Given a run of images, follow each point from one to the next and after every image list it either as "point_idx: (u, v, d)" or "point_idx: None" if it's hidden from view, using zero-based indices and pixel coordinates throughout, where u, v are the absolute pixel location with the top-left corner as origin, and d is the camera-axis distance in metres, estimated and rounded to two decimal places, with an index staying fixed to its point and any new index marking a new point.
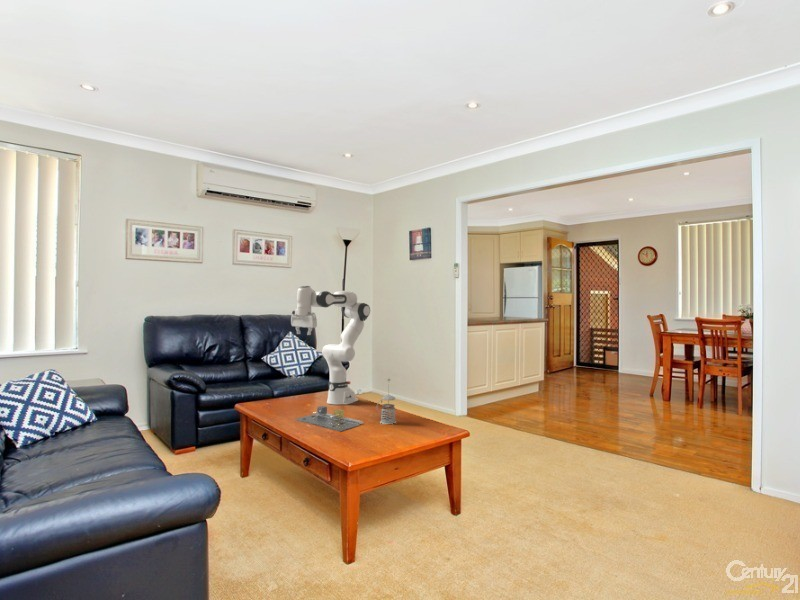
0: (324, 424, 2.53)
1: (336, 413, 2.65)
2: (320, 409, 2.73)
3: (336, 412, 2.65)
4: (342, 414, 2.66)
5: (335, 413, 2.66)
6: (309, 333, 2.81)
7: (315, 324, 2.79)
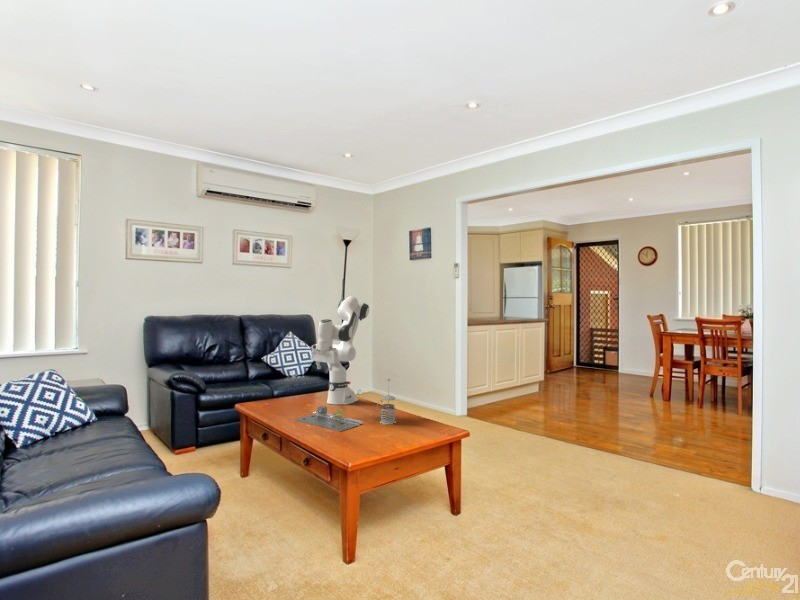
0: (324, 424, 2.53)
1: (336, 413, 2.65)
2: (320, 409, 2.73)
3: (336, 412, 2.65)
4: (342, 414, 2.66)
5: (335, 413, 2.66)
6: (330, 369, 2.72)
7: (337, 360, 2.70)
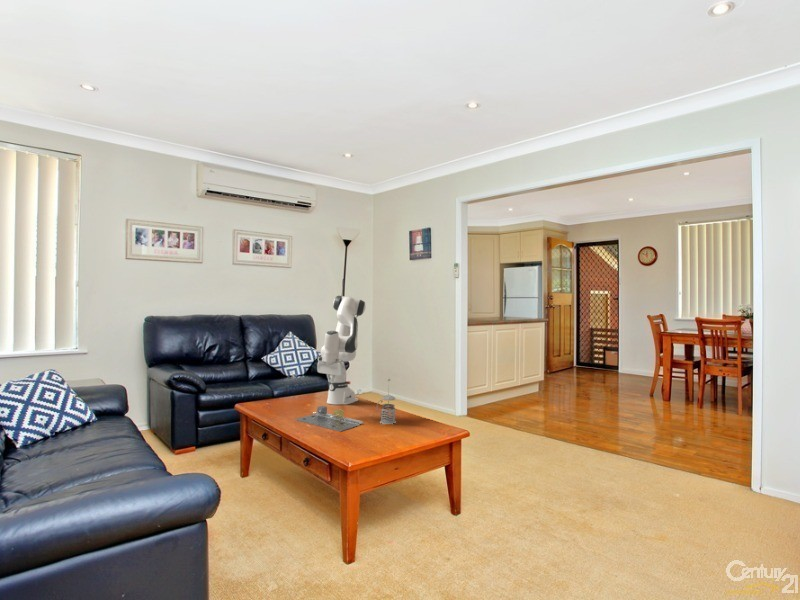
0: (324, 424, 2.53)
1: (336, 413, 2.65)
2: (320, 409, 2.73)
3: (336, 412, 2.65)
4: (342, 414, 2.66)
5: (335, 413, 2.66)
6: (332, 380, 2.72)
7: (343, 372, 2.67)
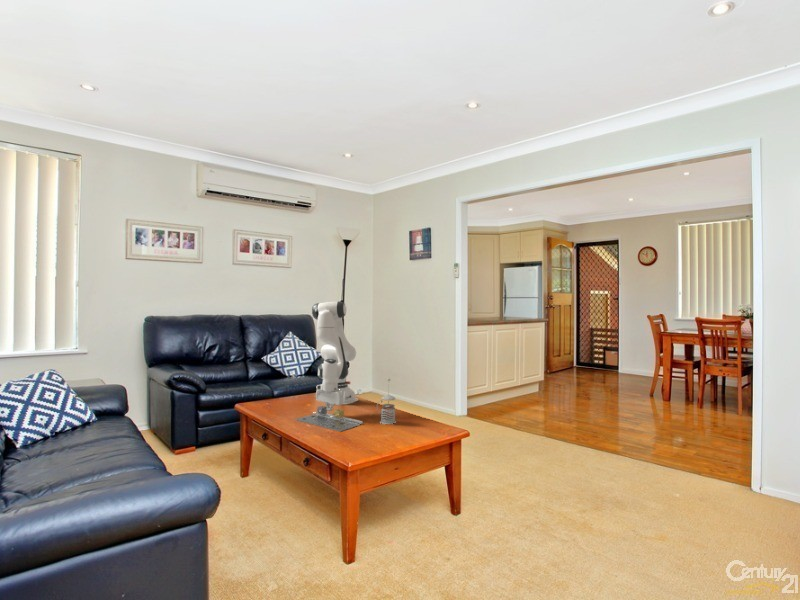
0: (324, 424, 2.53)
1: (336, 413, 2.65)
2: (320, 409, 2.73)
3: (336, 412, 2.65)
4: (342, 414, 2.66)
5: (335, 413, 2.66)
6: (331, 409, 2.70)
7: (342, 401, 2.65)
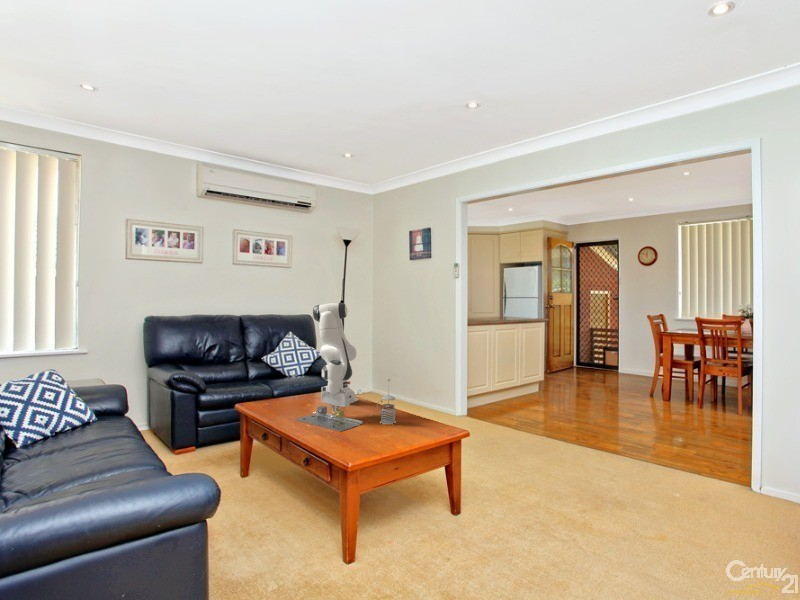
0: (324, 424, 2.53)
1: (336, 413, 2.65)
2: (320, 409, 2.73)
3: (336, 412, 2.65)
4: (342, 414, 2.66)
5: (335, 413, 2.65)
6: None
7: (348, 403, 2.63)
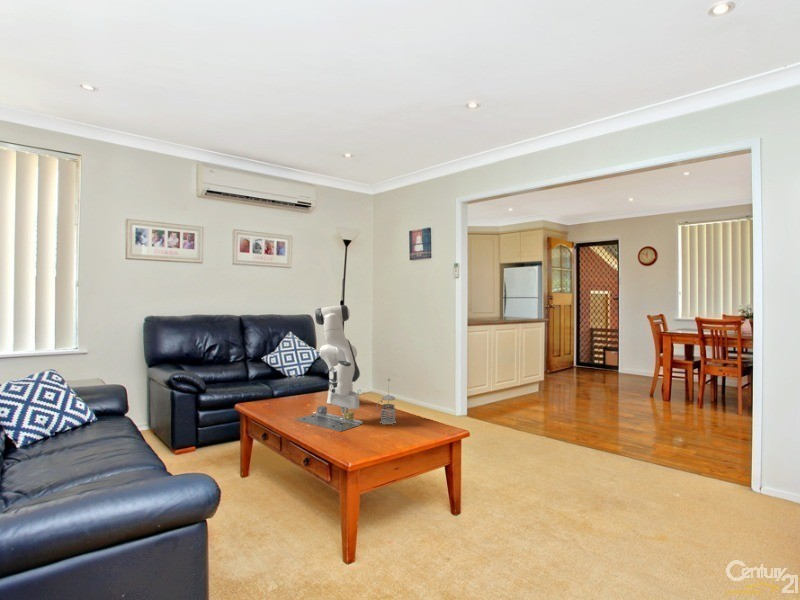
0: (324, 424, 2.53)
1: (346, 415, 2.60)
2: (320, 409, 2.73)
3: (346, 414, 2.60)
4: (352, 416, 2.61)
5: (345, 415, 2.61)
6: None
7: (358, 405, 2.58)
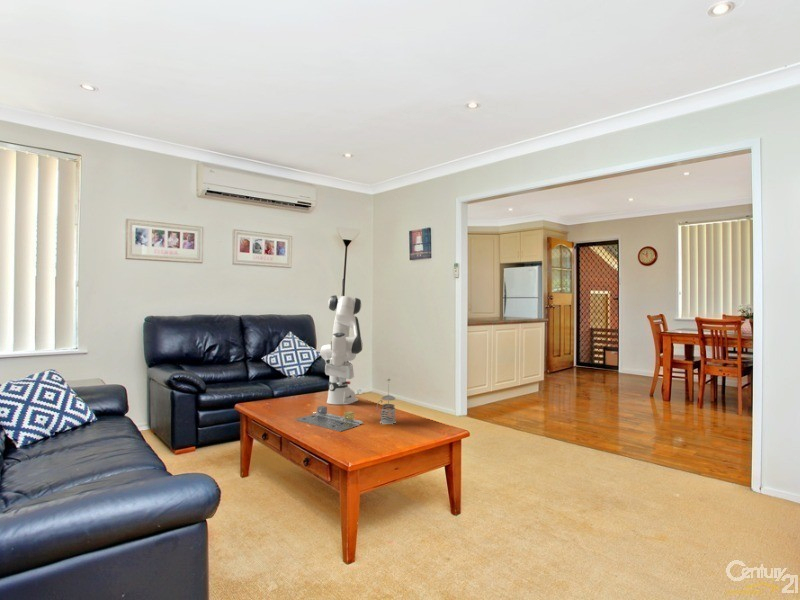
0: (324, 424, 2.53)
1: (346, 415, 2.60)
2: (320, 409, 2.73)
3: (346, 414, 2.60)
4: (352, 416, 2.61)
5: (345, 415, 2.61)
6: (340, 383, 2.68)
7: (352, 375, 2.63)
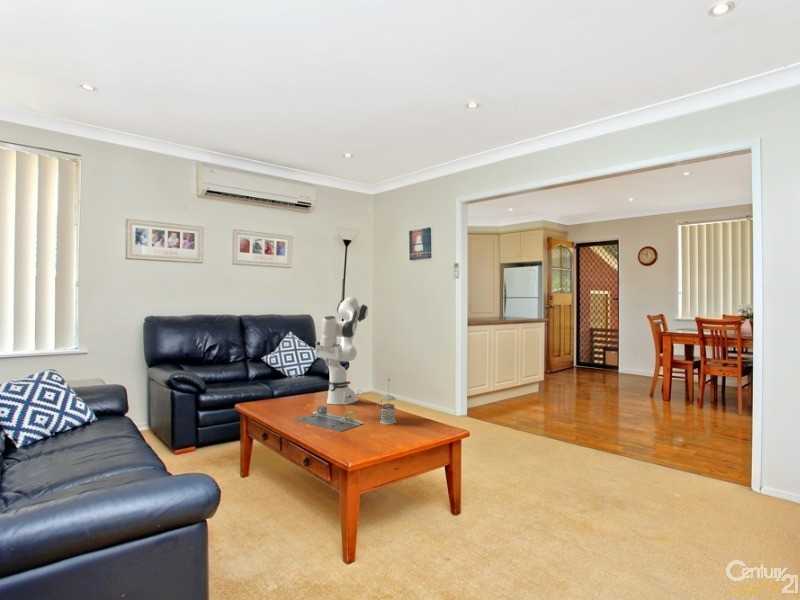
0: (324, 424, 2.53)
1: (346, 415, 2.60)
2: (320, 409, 2.73)
3: (346, 414, 2.60)
4: (352, 416, 2.61)
5: (345, 415, 2.61)
6: (330, 364, 2.77)
7: (341, 356, 2.72)
